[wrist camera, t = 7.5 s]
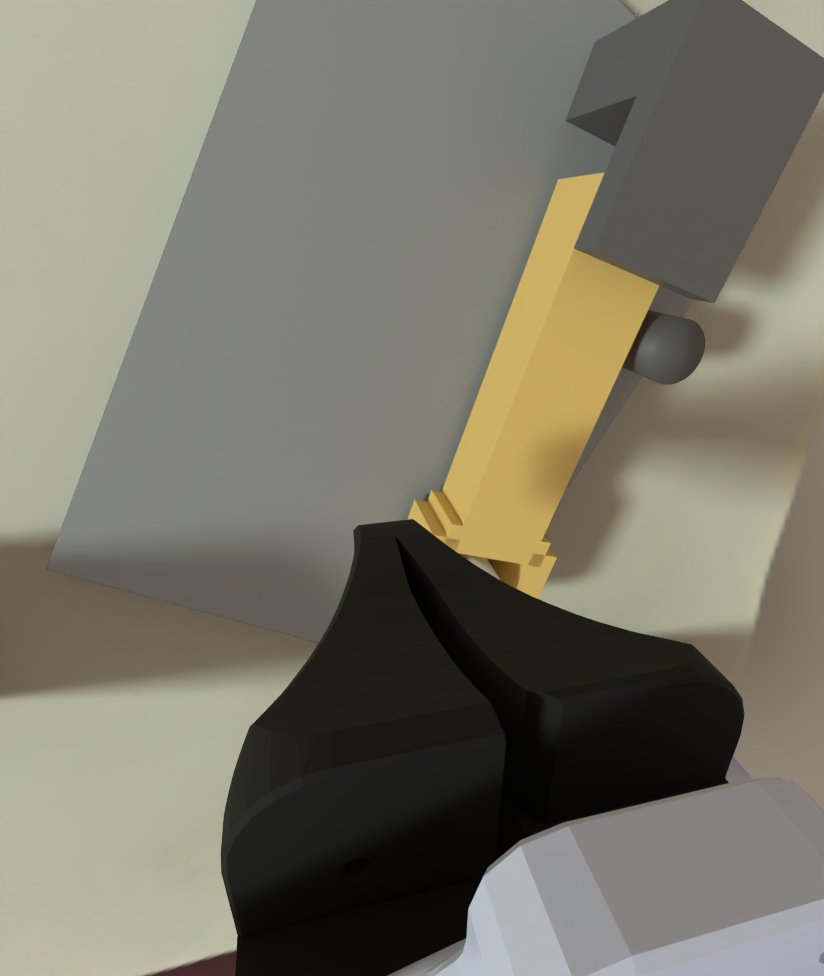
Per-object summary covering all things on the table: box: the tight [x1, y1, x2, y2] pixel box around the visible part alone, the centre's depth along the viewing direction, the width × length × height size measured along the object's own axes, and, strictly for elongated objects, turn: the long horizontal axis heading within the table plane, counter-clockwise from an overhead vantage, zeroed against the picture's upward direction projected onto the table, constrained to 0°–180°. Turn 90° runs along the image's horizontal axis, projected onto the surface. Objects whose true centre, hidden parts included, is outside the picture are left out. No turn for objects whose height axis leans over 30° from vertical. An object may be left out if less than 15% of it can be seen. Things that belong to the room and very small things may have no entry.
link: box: [407, 172, 659, 599], centre depth 18 cm, size 15×5×3 cm, turn 162°
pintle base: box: [46, 0, 824, 643], centre depth 17 cm, size 16×23×6 cm
